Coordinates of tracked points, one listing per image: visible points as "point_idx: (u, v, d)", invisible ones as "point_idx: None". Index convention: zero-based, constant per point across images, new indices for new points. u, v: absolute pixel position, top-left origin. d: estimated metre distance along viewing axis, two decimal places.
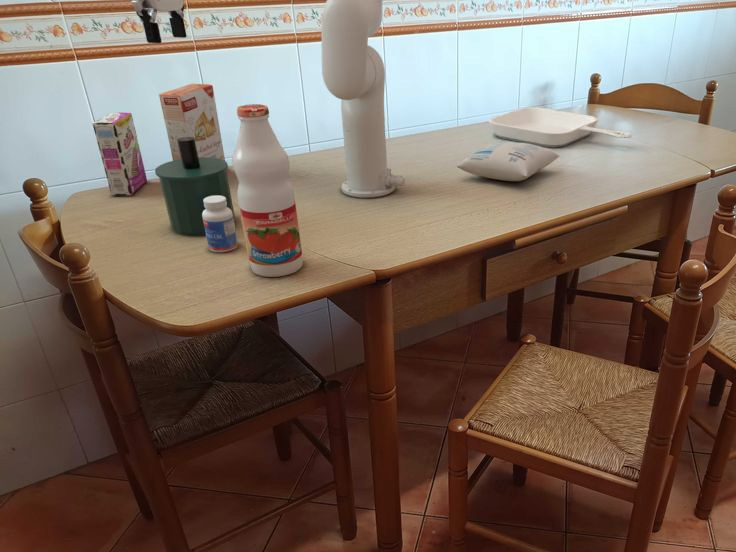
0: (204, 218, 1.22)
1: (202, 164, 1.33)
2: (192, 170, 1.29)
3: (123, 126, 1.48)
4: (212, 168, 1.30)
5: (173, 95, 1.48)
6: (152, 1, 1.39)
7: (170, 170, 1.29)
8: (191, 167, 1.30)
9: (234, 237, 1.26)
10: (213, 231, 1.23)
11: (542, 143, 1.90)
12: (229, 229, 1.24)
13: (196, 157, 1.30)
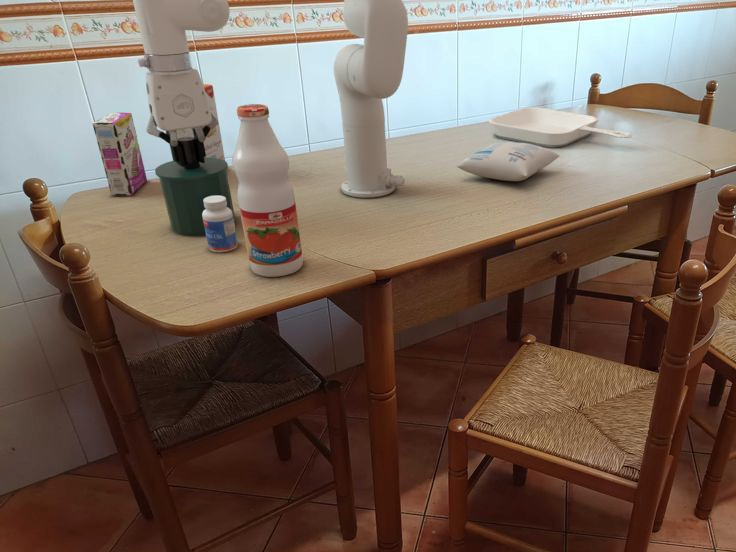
0: (204, 218, 1.22)
1: (202, 164, 1.33)
2: (192, 170, 1.29)
3: (123, 126, 1.48)
4: (212, 168, 1.30)
5: None
6: (156, 119, 1.22)
7: (170, 170, 1.29)
8: (191, 167, 1.30)
9: (234, 237, 1.26)
10: (213, 231, 1.23)
11: (542, 143, 1.90)
12: (229, 229, 1.24)
13: (196, 157, 1.30)
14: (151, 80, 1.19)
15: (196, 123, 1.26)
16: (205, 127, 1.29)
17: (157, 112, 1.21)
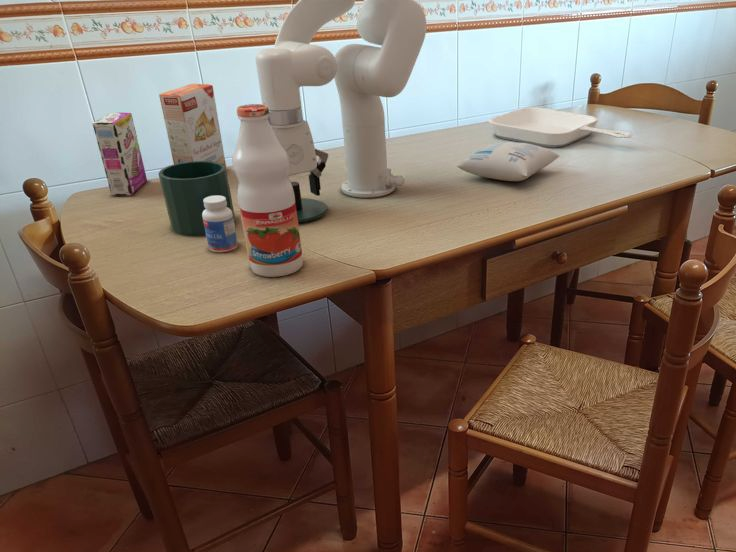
0: (204, 218, 1.22)
1: (303, 206, 1.44)
2: (297, 212, 1.41)
3: (123, 126, 1.48)
4: (314, 210, 1.42)
5: (173, 95, 1.48)
6: None
7: None
8: None
9: (234, 237, 1.26)
10: (213, 231, 1.23)
11: (542, 143, 1.90)
12: (229, 229, 1.24)
13: (300, 200, 1.41)
14: None
15: (304, 169, 1.37)
16: (321, 163, 1.41)
17: None
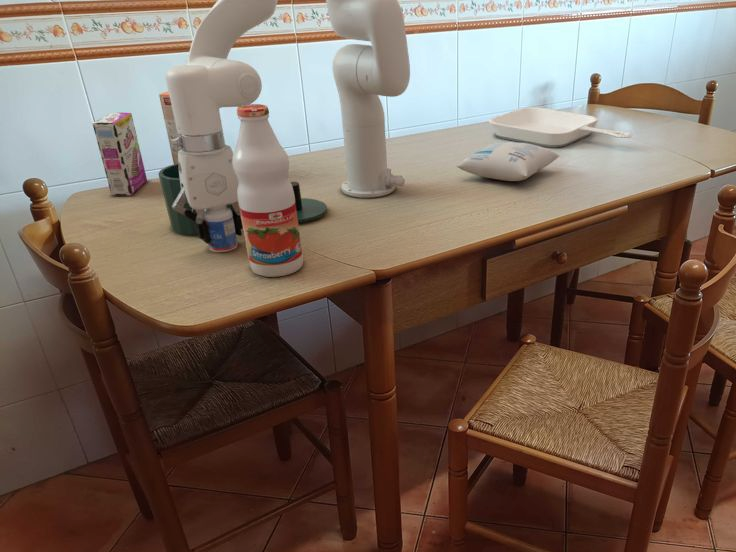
0: (204, 218, 1.22)
1: (303, 206, 1.44)
2: (297, 212, 1.41)
3: (123, 126, 1.48)
4: (314, 210, 1.42)
5: None
6: (188, 199, 1.18)
7: None
8: None
9: (234, 237, 1.26)
10: (213, 231, 1.23)
11: (542, 143, 1.90)
12: (229, 229, 1.24)
13: (300, 200, 1.41)
14: (184, 160, 1.15)
15: (229, 200, 1.22)
16: None
17: (189, 192, 1.17)
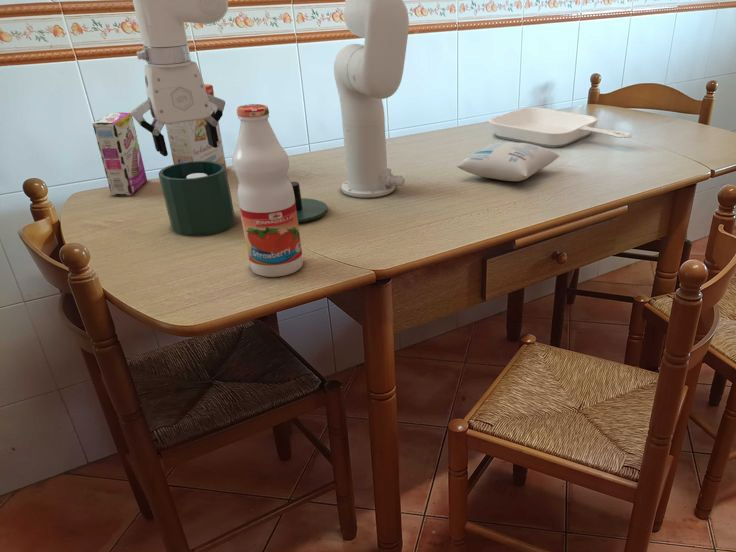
0: None
1: (303, 206, 1.44)
2: (297, 212, 1.41)
3: (123, 126, 1.48)
4: (314, 210, 1.42)
5: None
6: (154, 112, 1.21)
7: None
8: None
9: None
10: None
11: (542, 143, 1.90)
12: None
13: (300, 200, 1.41)
14: (150, 73, 1.18)
15: (195, 116, 1.25)
16: (218, 111, 1.29)
17: (156, 105, 1.20)
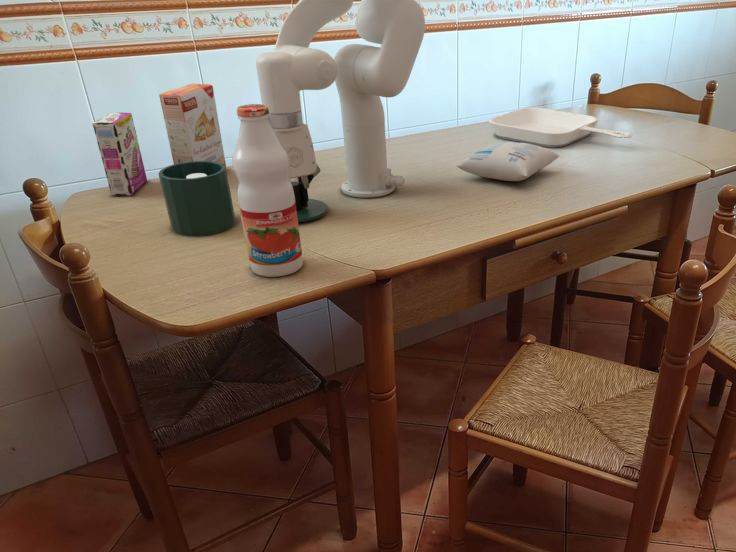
0: None
1: None
2: (297, 212, 1.41)
3: (123, 126, 1.48)
4: (315, 210, 1.42)
5: (173, 95, 1.48)
6: None
7: None
8: (296, 209, 1.41)
9: None
10: None
11: (542, 143, 1.90)
12: None
13: (300, 200, 1.41)
14: None
15: (304, 172, 1.38)
16: (309, 175, 1.41)
17: None
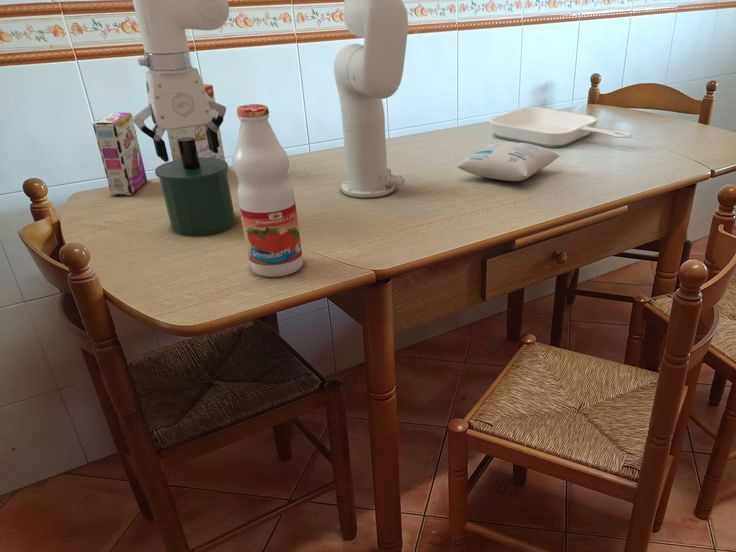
0: None
1: (202, 164, 1.33)
2: (192, 170, 1.29)
3: (123, 126, 1.48)
4: (212, 168, 1.30)
5: None
6: (156, 118, 1.22)
7: (170, 170, 1.29)
8: (191, 167, 1.30)
9: None
10: None
11: (542, 143, 1.90)
12: None
13: (196, 157, 1.30)
14: (151, 79, 1.19)
15: (196, 122, 1.26)
16: (218, 117, 1.30)
17: (157, 111, 1.21)
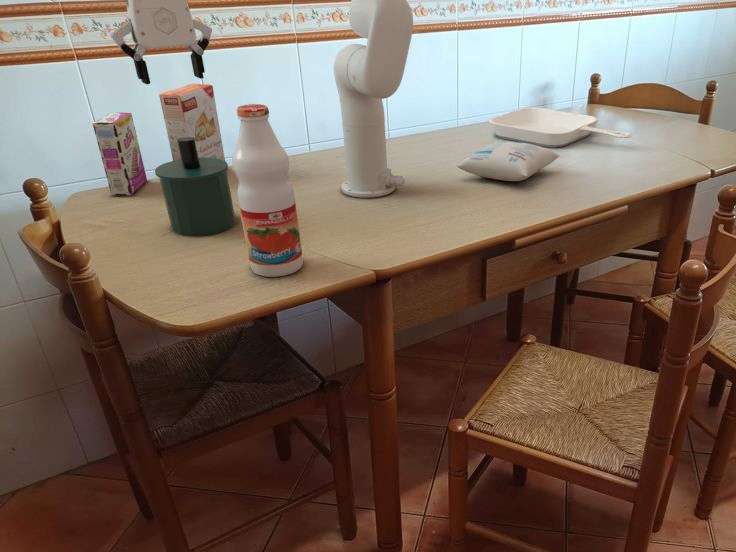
0: None
1: (202, 164, 1.33)
2: (192, 170, 1.29)
3: (124, 126, 1.48)
4: (212, 168, 1.30)
5: (173, 95, 1.48)
6: (136, 35, 1.15)
7: (170, 170, 1.29)
8: (191, 167, 1.30)
9: None
10: None
11: (542, 143, 1.90)
12: None
13: (196, 157, 1.30)
14: None
15: (179, 41, 1.18)
16: (204, 39, 1.22)
17: (137, 26, 1.13)
